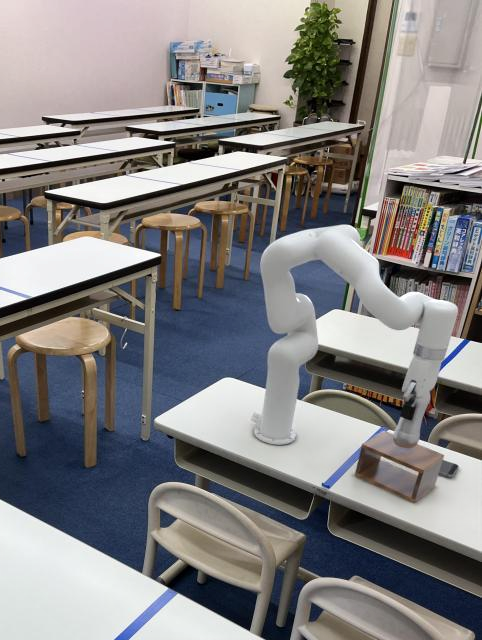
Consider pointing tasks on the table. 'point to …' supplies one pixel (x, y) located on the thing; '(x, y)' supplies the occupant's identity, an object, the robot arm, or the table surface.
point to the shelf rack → (394, 476)
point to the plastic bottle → (411, 424)
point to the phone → (448, 469)
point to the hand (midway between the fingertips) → (412, 413)
